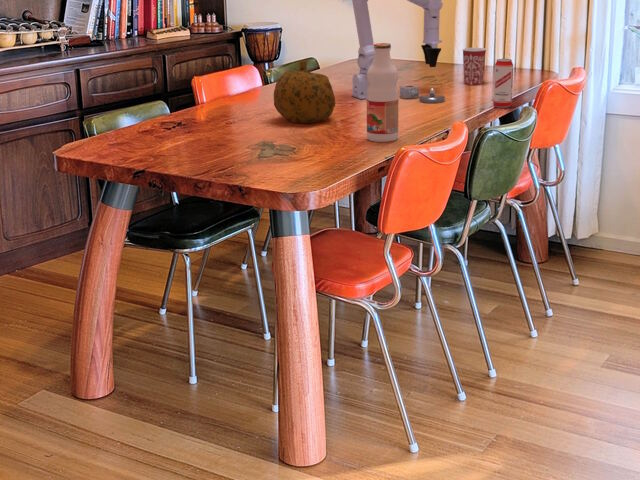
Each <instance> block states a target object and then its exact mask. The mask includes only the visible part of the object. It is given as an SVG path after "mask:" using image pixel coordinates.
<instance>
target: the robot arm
mask: <svg viewBox="0 0 640 480" xmlns="http://www.w3.org/2000/svg"><path fill="white" fill-rule="evenodd" d="M351 1H352V6H353V7H352V8H353V12H354V13H353V14H354V18H355V19H354V20H355V26H356V32H357V37H358V44H359V48H358V51H357V52H358V56H357V66H358V67H359V68H360V69H359V72H358V73H353V75H352V94H351V96H352V97H354V98H357V99H359V100H363V99H365V100H367V98H366V97H367V89H368V86H369V84H368V80H367V71H368V69H369V67H370V66H371V65H372V63H373V60H374V57H375V50H374V44H375V42H374V37H373V31H372V24H371V19H370V18H371V17H370V12H369V6H368V1H369V0H351ZM406 1H407V2H409V3H411V4H414V5H417V6H419V7H420V8H422V9H423V40H422V43H423V44H421V49H422V51H423V57H424V61H425V65H429V68H436V66H437V63H438V59H439V55H440V54H441V51H442V47H438V44H439V43H443V40H442V39H440V18H441V17H440V16H441V15H440V14H441V13H440V11H441V10H442V7H443V4H444V3H443V2H442V0H406Z"/></svg>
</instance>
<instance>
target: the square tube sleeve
mask: <svg viewBox="0 0 640 480" xmlns="http://www.w3.org/2000/svg"><path fill="white" fill-rule="evenodd" d="M400 96H402V97H405V98H411V97H419V98H420V86H417V85H414V84H408V85H400V86H399V97H400Z"/></svg>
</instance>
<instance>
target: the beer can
mask: <svg viewBox="0 0 640 480" xmlns="http://www.w3.org/2000/svg"><path fill="white" fill-rule="evenodd" d="M512 60H513V59H510V58H499V59H496V62H495V63H494V75H493V95H492V96H493V97H492V98H493V101H492V104H493V106H494V107H495V108H497V109H508V108H510V107H511V106H512V104H513V83H514V81H513V79H514V77H513V76H514V64H513V61H512Z"/></svg>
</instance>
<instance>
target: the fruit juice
mask: <svg viewBox="0 0 640 480" xmlns="http://www.w3.org/2000/svg"><path fill="white" fill-rule="evenodd" d="M391 49H392V46H391V43H388V42H380V43H379V42H378V43H374V50H375V57H374V60H373V63H372V65H371V66H370V67H369V69H368V71H367V80H368V84H369V86H368V89H367V97H366V138H367V140H368V141H371V142H376V143H387V142H388V143H389V142H394V141H397V140H398V139H399V99H400V95H399V88H398V86H397V83H398V78H399V72H398V69H397V67H396V66H395V65H394V63H393V61H392V57H391Z"/></svg>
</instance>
